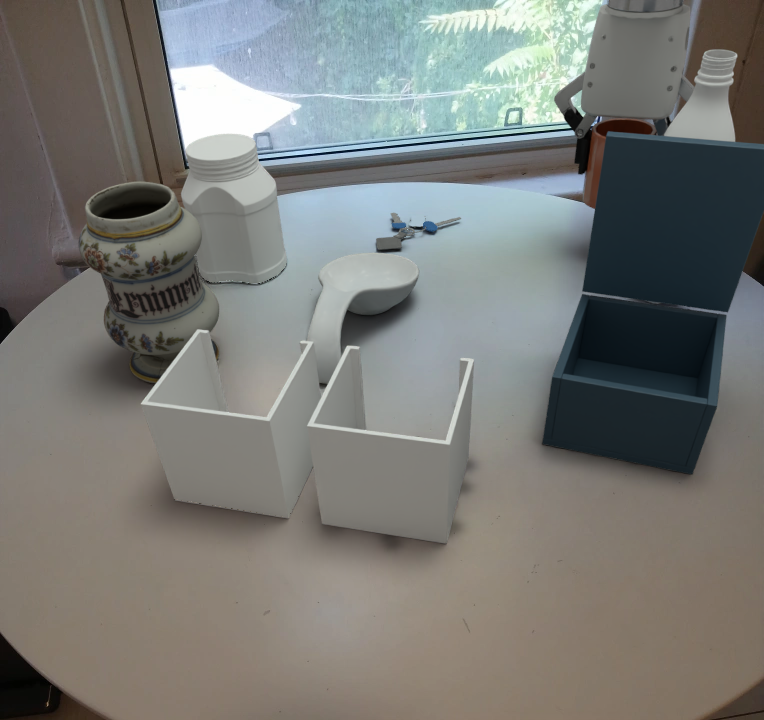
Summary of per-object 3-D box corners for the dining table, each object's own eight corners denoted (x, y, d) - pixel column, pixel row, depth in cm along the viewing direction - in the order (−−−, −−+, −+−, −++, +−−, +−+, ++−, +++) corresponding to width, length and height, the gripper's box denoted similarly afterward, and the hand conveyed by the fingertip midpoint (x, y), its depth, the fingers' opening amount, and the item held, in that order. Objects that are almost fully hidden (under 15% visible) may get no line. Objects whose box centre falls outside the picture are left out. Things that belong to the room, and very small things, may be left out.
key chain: (387, 256, 96) (387, 250, 95) (347, 236, 100) (347, 231, 100) (462, 222, 102) (462, 216, 101) (421, 204, 106) (421, 199, 106)
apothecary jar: (176, 404, 76) (125, 238, 63) (97, 370, 81) (35, 210, 68) (251, 346, 83) (218, 186, 70) (174, 319, 88) (130, 164, 75)
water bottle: (637, 311, 84) (694, 67, 66) (621, 280, 89) (670, 45, 71) (699, 308, 84) (773, 63, 66) (680, 277, 89) (744, 41, 71)
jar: (190, 283, 94) (159, 161, 83) (212, 247, 100) (186, 131, 89) (277, 285, 92) (257, 162, 81) (294, 249, 99) (277, 131, 88)
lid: (785, 150, 56) (788, 117, 59) (606, 135, 60) (617, 104, 63) (727, 312, 69) (732, 278, 72) (582, 291, 72) (592, 260, 75)
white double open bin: (174, 500, 66) (140, 403, 58) (222, 424, 73) (197, 329, 65) (446, 543, 61) (449, 444, 53) (468, 457, 68) (474, 358, 60)
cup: (607, 182, 92) (618, 113, 86) (655, 198, 88) (669, 127, 82) (570, 200, 89) (578, 130, 83) (617, 217, 85) (629, 145, 79)
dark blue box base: (692, 475, 65) (717, 405, 60) (541, 444, 69) (552, 376, 64) (704, 381, 75) (726, 314, 69) (570, 359, 79) (582, 293, 73)
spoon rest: (338, 272, 94) (333, 218, 89) (428, 280, 91) (428, 225, 86) (274, 381, 78) (263, 322, 73) (380, 394, 76) (377, 334, 70)
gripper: (740, -16, 74) (697, 166, 86) (566, -17, 79) (549, 155, 91) (737, 3, 69) (691, 192, 81) (552, 0, 74) (536, 179, 86)
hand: (616, 171), depth 86 cm, fingers closed on cup, 7 cm apart
